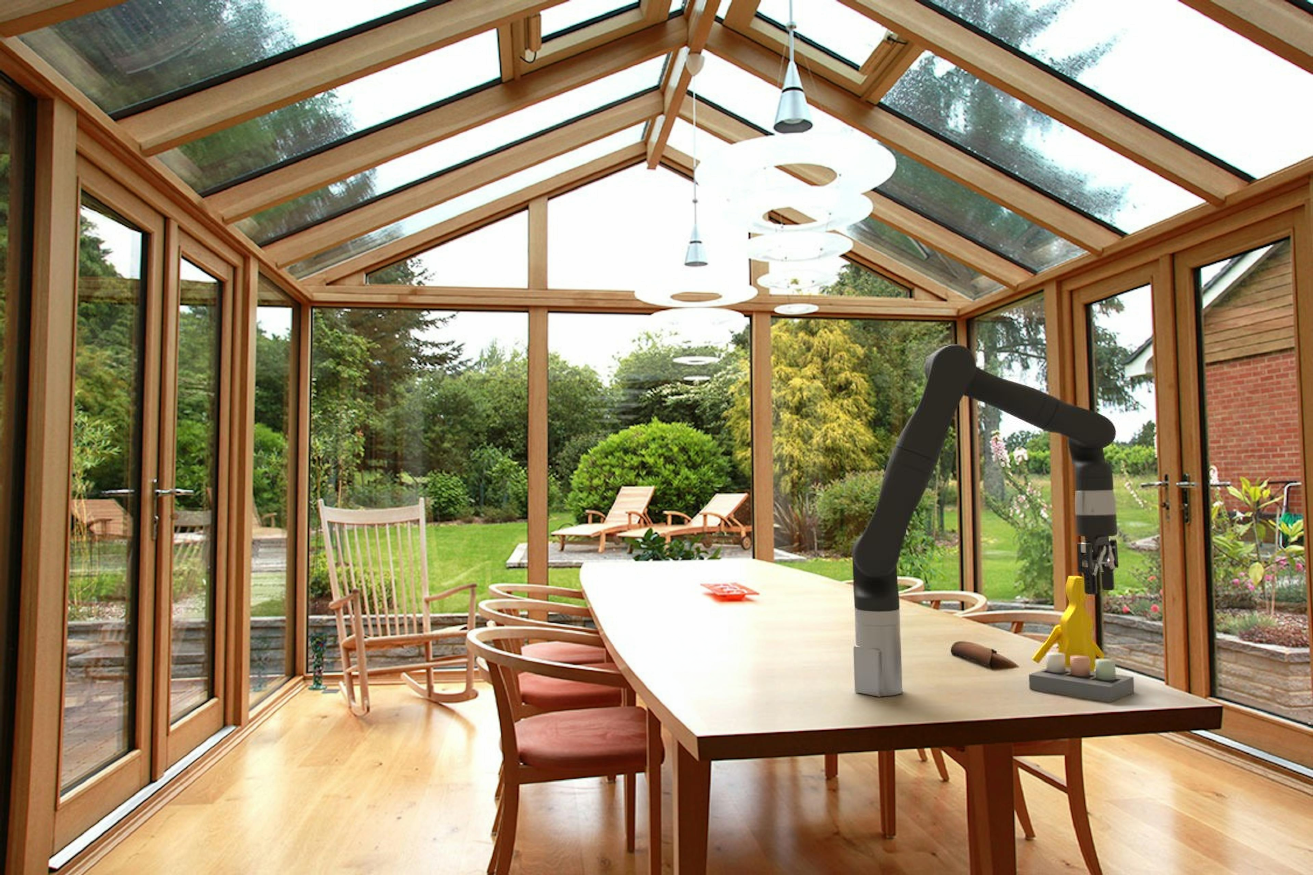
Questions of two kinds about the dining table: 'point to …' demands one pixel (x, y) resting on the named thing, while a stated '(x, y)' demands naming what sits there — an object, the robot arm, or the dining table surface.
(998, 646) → the dining table surface
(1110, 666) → the sage button
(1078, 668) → the terracotta button
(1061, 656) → the ivory button
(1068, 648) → the figure statuette
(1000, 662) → the sunglasses case
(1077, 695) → the button box
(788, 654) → the dining table surface
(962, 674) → the dining table surface
